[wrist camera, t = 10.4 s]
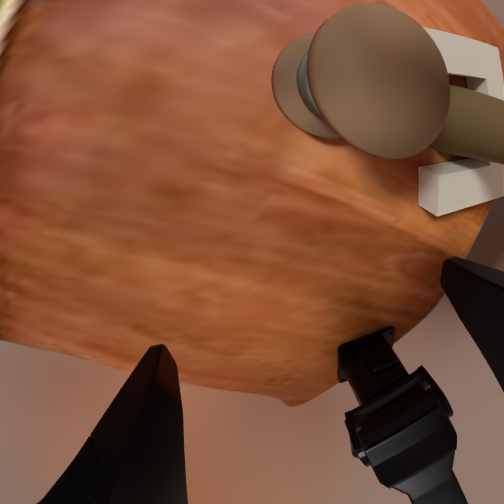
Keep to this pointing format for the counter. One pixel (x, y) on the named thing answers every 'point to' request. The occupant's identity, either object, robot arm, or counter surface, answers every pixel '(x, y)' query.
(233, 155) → the counter surface
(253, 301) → the counter surface
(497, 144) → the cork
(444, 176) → the notched board
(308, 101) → the brown spool-shaped piece
